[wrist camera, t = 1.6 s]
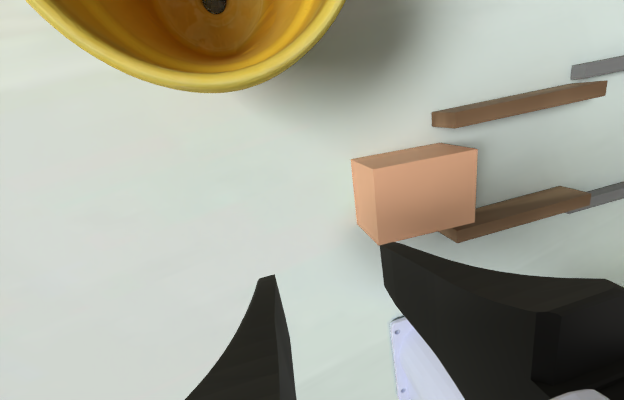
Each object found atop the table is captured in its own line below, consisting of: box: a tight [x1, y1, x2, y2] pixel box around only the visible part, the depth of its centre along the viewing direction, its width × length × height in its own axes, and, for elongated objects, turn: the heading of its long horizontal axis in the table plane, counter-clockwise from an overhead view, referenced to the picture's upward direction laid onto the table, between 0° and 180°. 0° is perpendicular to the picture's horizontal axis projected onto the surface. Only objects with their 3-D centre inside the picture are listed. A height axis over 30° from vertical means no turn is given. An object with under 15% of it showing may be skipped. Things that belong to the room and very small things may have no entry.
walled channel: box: [432, 81, 607, 243], centre depth 22 cm, size 9×12×2 cm
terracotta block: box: [351, 143, 478, 245], centre depth 20 cm, size 5×7×4 cm
